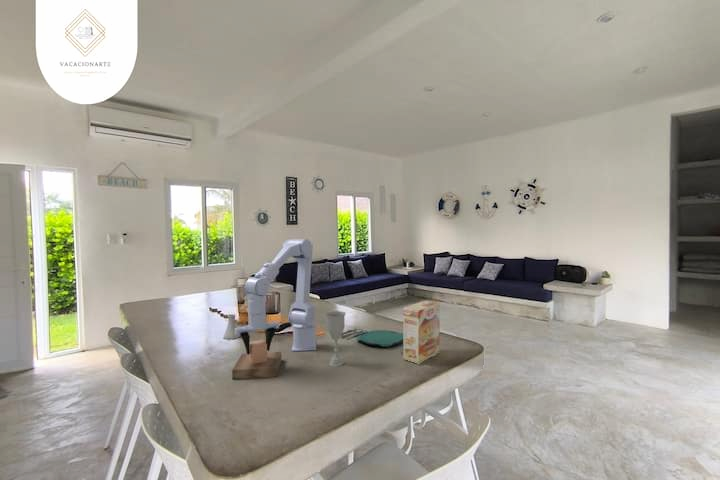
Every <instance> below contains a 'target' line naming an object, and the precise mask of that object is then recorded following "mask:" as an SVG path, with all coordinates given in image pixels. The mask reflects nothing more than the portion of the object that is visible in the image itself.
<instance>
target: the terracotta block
mask: <svg viewBox="0 0 720 480" xmlns="http://www.w3.org/2000/svg"><path fill="white" fill-rule="evenodd" d="M249 347H250V354H249V360H250V361H251V363H252V364H256V363H261V362H266V361H267V353H268V351H267V343H266V340H264V339H260V340H255V341H249Z"/></svg>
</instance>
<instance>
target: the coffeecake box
mask: <svg viewBox="0 0 720 480" xmlns="http://www.w3.org/2000/svg"><path fill="white" fill-rule="evenodd" d="M440 305H441V302H440V303H439V302H435V301H429V300H428V301H427V300H423V301H420V302H417V303H414V304H410V305H408V306H404V307H403V308H402V310H403V312H402V313H403V317H402V318H403V326H402V327H403V328H402V330H403V332H402V334H403V342H402V344H403V347H402V348H403V349H402V350H403V351H402V352H403V355H402V356H403V357H402V358H403V359H405V360H408V361H407V362H409V361H411V362H410V363H412V362H415V363H418V364H419V363H421V362H423V361H424V360H426V359H428V358H429V357H431V356H432V355H434V354H436V353H437V352H439V351H440V352H441V350H440V333H441V332H440V331H441V330H440V322H441V321H440V320H441V318H440V316H441V315H440V314H441V313H440V311H441V309H440V307H441V306H440ZM403 359H402V360H403ZM405 360H404V361H405ZM428 360H429V359H428ZM426 361H427V360H426ZM423 363H424V362H423ZM418 364H417V365H418ZM421 364H422V363H421ZM419 365H420V364H419Z"/></svg>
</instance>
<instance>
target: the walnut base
mask: <svg viewBox="0 0 720 480" xmlns="http://www.w3.org/2000/svg"><path fill="white" fill-rule="evenodd" d="M281 363H282V351H275V352H273V351H271V352H267V361H266V362H261V363H256V364H252V363H251V361H250V360H249V354H247V353H241V355H240V356H239V358H238V360H237V361H236V363H235V365H234V367H233V368H232V370H231V371H232V372H231V377H232V380H242V379H243V380H244V379H256V378H257V379H258V378H273V377H274V378H276V377H277V376H278V372H279V369H280V366H281Z"/></svg>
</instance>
